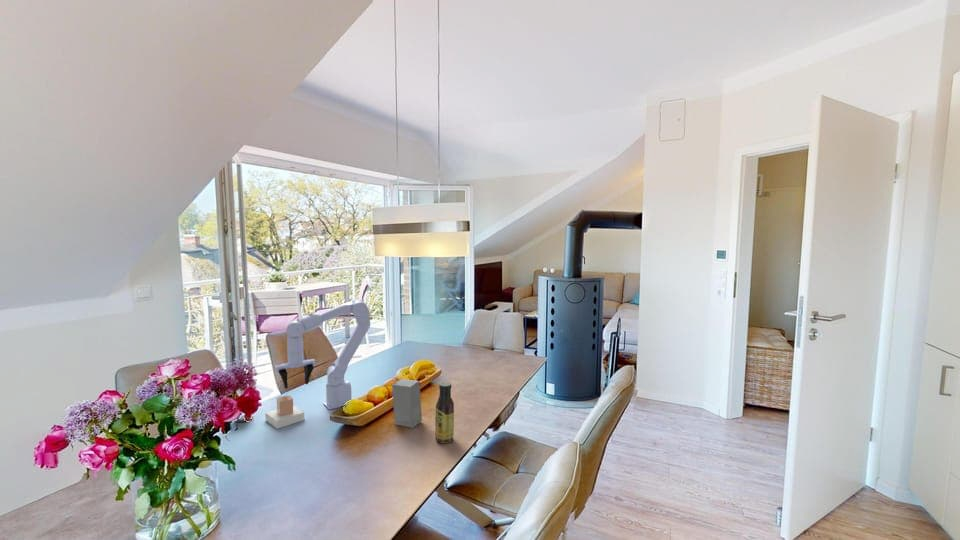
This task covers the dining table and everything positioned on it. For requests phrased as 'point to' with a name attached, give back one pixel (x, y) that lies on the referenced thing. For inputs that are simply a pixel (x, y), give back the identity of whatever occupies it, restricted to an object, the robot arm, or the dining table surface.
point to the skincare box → (407, 403)
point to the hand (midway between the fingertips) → (296, 385)
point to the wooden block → (285, 405)
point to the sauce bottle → (444, 414)
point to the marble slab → (284, 418)
